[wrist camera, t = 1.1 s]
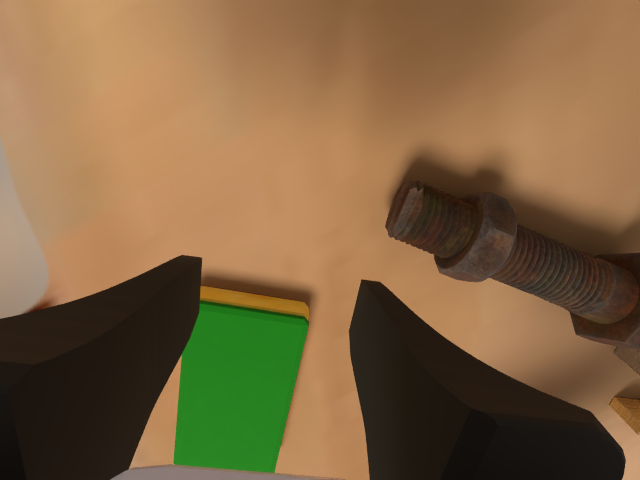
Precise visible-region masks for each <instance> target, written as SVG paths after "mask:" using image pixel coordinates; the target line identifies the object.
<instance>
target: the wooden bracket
mask: <svg viewBox="0 0 640 480" xmlns="http://www.w3.org/2000/svg"><path fill="white" fill-rule="evenodd" d="M610 406H611V407H612V408H613V409H614V410H615V411H616V412H617V413H618V415H619V416H620V417H621V418H622V419H623V420H624V421H625V422H626V423H627V424H628V425H629V426H630V427H631V428H632V429H633V430H634V431H635V432H636V433H637V434H638V435H640V400H637V399H628V398H619V397H614V398H613V400H612V402H611V403H610Z"/></svg>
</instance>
